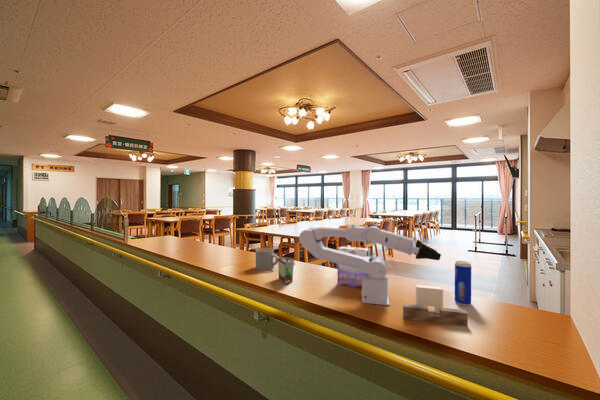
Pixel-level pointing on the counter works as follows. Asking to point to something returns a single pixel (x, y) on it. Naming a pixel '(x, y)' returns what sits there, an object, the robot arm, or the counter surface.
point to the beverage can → (463, 283)
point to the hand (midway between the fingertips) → (437, 255)
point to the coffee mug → (265, 259)
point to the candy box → (350, 274)
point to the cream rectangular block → (429, 296)
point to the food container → (285, 269)
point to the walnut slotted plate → (435, 315)
